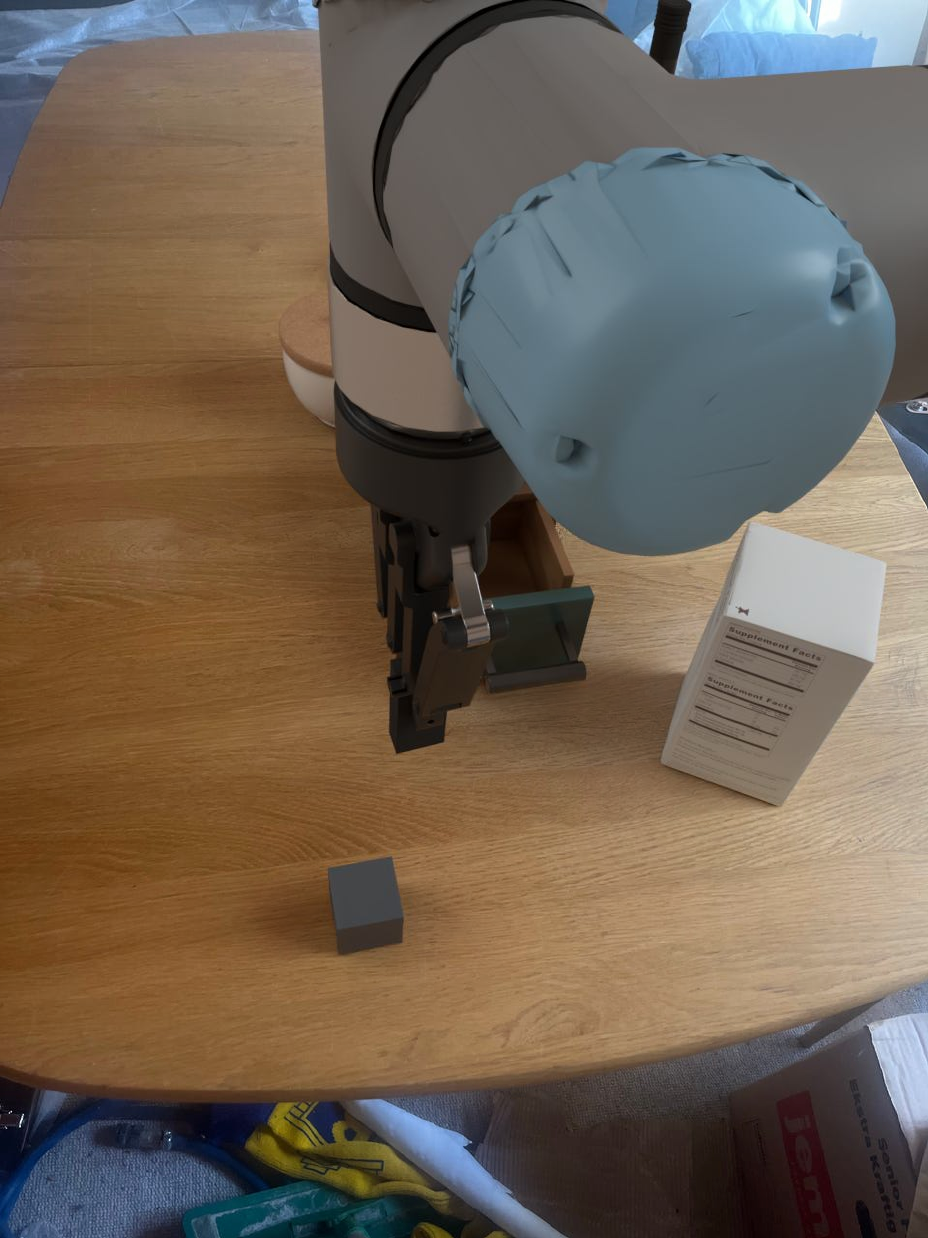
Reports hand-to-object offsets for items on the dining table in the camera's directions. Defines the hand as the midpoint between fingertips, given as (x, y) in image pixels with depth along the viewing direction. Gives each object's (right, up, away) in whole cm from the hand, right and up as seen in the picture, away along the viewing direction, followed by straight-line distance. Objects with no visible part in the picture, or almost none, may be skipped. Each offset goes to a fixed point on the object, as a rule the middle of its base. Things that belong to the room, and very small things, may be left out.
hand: (416, 737), depth 52 cm
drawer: (+5, +6, +23) cm, 24 cm away
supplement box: (+23, -3, +20) cm, 30 cm away
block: (-4, -13, +8) cm, 16 cm away
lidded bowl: (-8, +27, +41) cm, 50 cm away
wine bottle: (+19, +42, +57) cm, 73 cm away
